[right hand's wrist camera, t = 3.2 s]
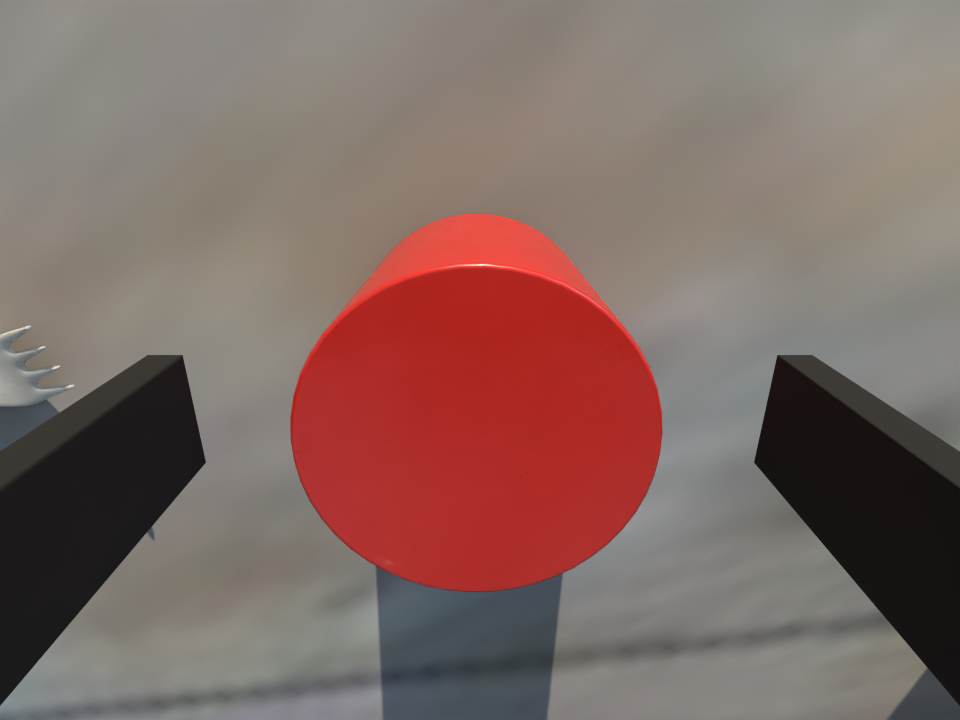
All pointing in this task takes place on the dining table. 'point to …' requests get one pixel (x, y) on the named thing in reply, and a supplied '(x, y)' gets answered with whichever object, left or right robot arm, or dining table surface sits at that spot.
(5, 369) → the fork
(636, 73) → the dining table surface
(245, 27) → the dining table surface
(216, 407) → the dining table surface
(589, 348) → the canister
